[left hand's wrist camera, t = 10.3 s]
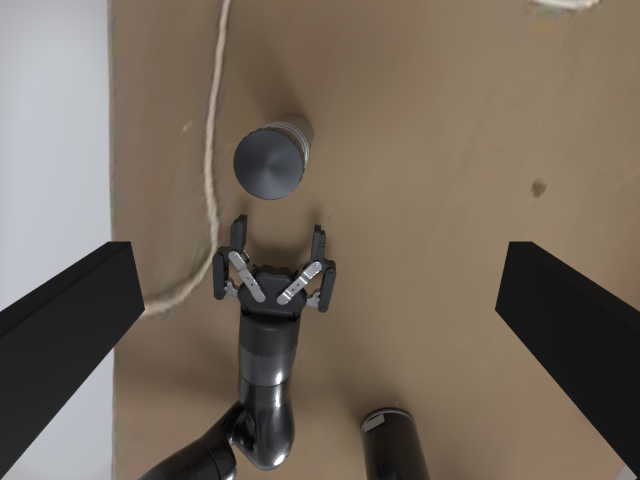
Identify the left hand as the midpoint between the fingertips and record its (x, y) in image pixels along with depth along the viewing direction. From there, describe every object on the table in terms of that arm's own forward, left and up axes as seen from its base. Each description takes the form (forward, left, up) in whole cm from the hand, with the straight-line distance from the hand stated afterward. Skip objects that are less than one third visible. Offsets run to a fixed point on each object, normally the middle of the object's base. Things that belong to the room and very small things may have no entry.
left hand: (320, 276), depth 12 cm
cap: (-1, -4, -11) cm, 11 cm away
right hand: (+8, -2, -26) cm, 27 cm away
